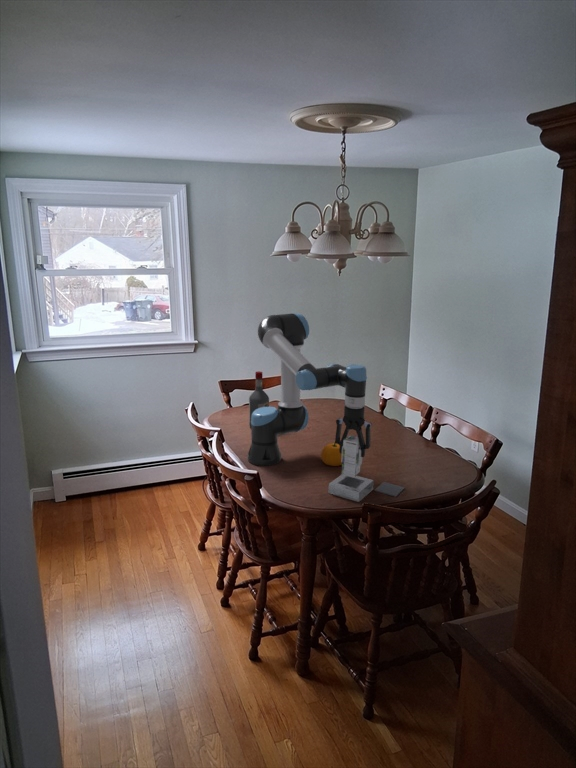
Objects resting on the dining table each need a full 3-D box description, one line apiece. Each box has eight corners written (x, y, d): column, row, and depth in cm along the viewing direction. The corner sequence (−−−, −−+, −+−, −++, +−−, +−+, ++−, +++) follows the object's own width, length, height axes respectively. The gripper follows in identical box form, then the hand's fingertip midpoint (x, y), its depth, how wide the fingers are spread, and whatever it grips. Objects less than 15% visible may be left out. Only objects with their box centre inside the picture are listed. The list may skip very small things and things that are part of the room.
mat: (374, 491, 208) (374, 490, 208) (383, 482, 215) (383, 481, 215) (395, 496, 203) (395, 495, 203) (404, 488, 210) (404, 487, 210)
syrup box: (347, 468, 210) (348, 434, 206) (361, 472, 207) (362, 437, 203) (341, 474, 205) (342, 439, 201) (355, 477, 202) (357, 442, 198)
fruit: (325, 456, 242) (326, 436, 239) (350, 460, 238) (351, 439, 235) (317, 465, 231) (317, 444, 229) (342, 470, 227) (343, 448, 225)
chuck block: (328, 493, 206) (328, 483, 205) (343, 481, 216) (344, 472, 215) (358, 502, 199) (359, 492, 198) (373, 489, 209) (373, 480, 208)
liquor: (247, 427, 279) (246, 372, 272) (257, 423, 286) (257, 369, 279) (261, 431, 274) (260, 375, 267) (271, 426, 282) (271, 371, 274)
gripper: (327, 405, 199) (325, 461, 205) (376, 412, 192) (373, 470, 198) (333, 400, 205) (331, 455, 212) (381, 406, 198) (378, 463, 204)
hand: (351, 462), depth 205 cm, fingers closed on syrup box, 6 cm apart
